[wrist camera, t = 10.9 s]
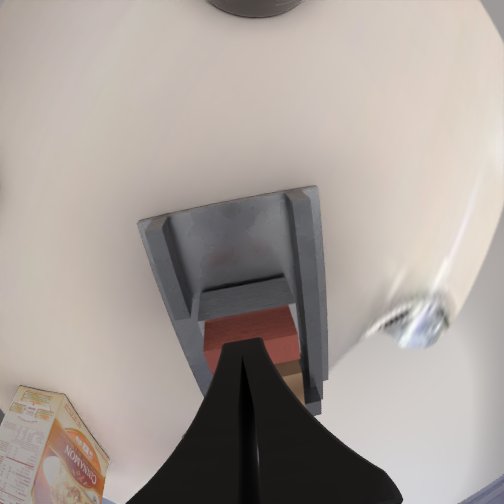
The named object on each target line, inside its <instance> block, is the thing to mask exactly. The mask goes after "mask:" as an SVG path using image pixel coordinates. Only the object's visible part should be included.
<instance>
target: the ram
mask: <svg viewBox="0 0 504 504" xmlns="http://www.w3.org/2000/svg"><path fill="white" fill-rule="evenodd" d="M198 324H199V327H200V330H201V333H202V336H203V338H204V347H203V352H204V355H205V357H206V360H207V363H208V365H209V368H210V370H211V373H212V375H214V373H215V370H216V367H217V364H218V360H219V357H220V353H221V349H222V346H223V344H224V343H229V342H234V341H240V340H246V339H251V338H257V337H260V338H262V339H263V342H264V345H265V348H266V350H267V352H268V354H269V356H270V358H271V360H272V362H273V364H278V363H283V362H288V361H292V360H297V359H301V358H300V353H301V350H300V340H299V331H298V321H297V312H296V303H295V300H294V298H293V295H292V292H291V290H290V287H289V284H288V282H287V279H286V277H283V278H278V279H273V280H268V281H263V282H258V283H252V284H247V285H242V286H237V287H231V288H226V289H221V290H215V291H210V292H204V293H200V301H199V311H198Z"/></svg>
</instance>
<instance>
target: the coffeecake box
mask: <svg viewBox="0 0 504 504" xmlns="http://www.w3.org/2000/svg"><path fill="white" fill-rule="evenodd" d="M108 463H109V458H108V457H107V456H106V454H105V453H104V452H103V450H102V449H101V448H100V446H99V445H98V444H97V442H96V441H95V440H94V438H93V437H92V436H91V434H90V433H89V431H88V430H87V428H86V427H85V426H84V424H83V423H82V421H81V420H80V418H79V416H78V415H77V413H76V412H75V410H74V409H73V407H72V406H71V404H70V402H69V401H68V399H67V397H66V396H65V395H64V394H60V393H54V392H47V391H40V390H37V389H33V388H28V387H24V386H20V387H19V388H18V390H17V392H16V394H15V396H14V398H13V400H12V402H11V404H10V406H9V408H8V410H7V413H6V415H5V417H4V419H3V421H2V423H1V426H0V504H101V502H102V496H103V490H104V484H105V478H106V473H107V468H108Z"/></svg>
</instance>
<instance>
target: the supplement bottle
mask: <svg viewBox="0 0 504 504" xmlns="http://www.w3.org/2000/svg"><path fill="white" fill-rule="evenodd" d="M208 1H209V2H210V3H212V4H213V5H215V6H216V7H218V8H220V9H222V10H224V11H226V12H229V13H232V14H235V15H240V16H246V17H267V16H272V15H277V14H280V13H283V12H286V11H288V10H290V9H292V8H293V7H295V6H296V5H298V4H299V3H300V2H301V1H302V0H208Z"/></svg>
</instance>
